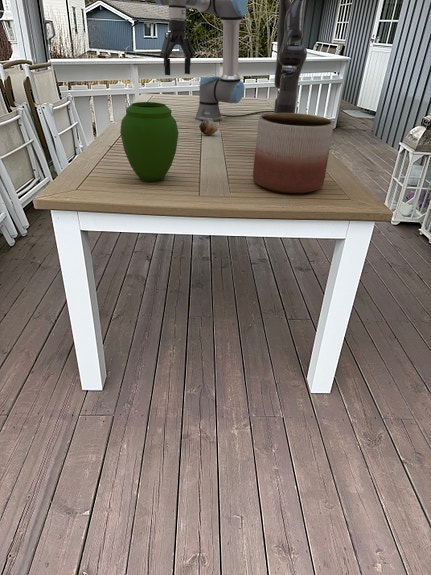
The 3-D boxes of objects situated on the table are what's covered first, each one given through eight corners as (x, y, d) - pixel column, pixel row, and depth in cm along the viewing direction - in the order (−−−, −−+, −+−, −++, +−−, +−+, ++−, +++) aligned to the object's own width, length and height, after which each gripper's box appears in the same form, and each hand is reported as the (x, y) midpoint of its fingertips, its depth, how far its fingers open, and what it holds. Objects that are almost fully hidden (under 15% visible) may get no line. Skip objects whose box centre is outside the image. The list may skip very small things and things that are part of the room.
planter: (334, 195, 139) (348, 127, 128) (262, 196, 135) (270, 126, 123) (308, 173, 160) (318, 112, 149) (245, 173, 156) (250, 111, 145)
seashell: (216, 134, 214) (217, 117, 210) (218, 136, 209) (218, 119, 205) (198, 133, 213) (198, 117, 208) (199, 136, 208) (199, 119, 204)
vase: (131, 189, 135) (125, 110, 122) (118, 172, 150) (112, 100, 137) (186, 184, 142) (187, 109, 129) (169, 168, 157) (167, 99, 144)
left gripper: (163, 18, 168) (164, 76, 180) (202, 21, 185) (200, 74, 197) (150, 18, 172) (152, 74, 183) (189, 21, 189) (189, 72, 200)
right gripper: (273, 103, 159) (268, 148, 168) (307, 104, 162) (300, 148, 171) (266, 101, 165) (262, 144, 174) (299, 101, 168) (293, 144, 177)
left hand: (177, 74), depth 190 cm, fingers open, 13 cm apart
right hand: (281, 146), depth 172 cm, fingers closed on bar, 4 cm apart
